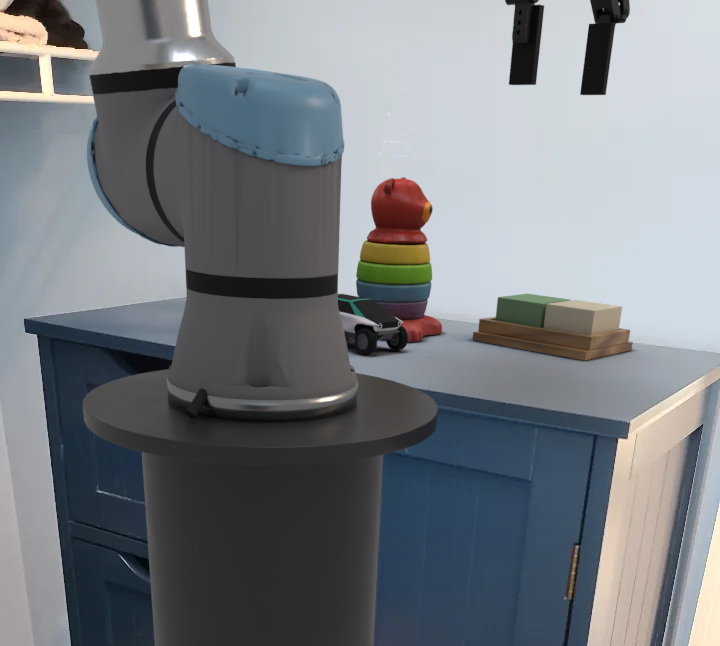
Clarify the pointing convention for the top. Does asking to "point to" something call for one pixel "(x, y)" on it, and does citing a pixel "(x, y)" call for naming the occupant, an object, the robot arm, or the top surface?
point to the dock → (552, 340)
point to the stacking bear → (399, 257)
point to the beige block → (582, 317)
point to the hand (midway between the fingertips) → (559, 90)
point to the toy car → (370, 324)
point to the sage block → (524, 309)
